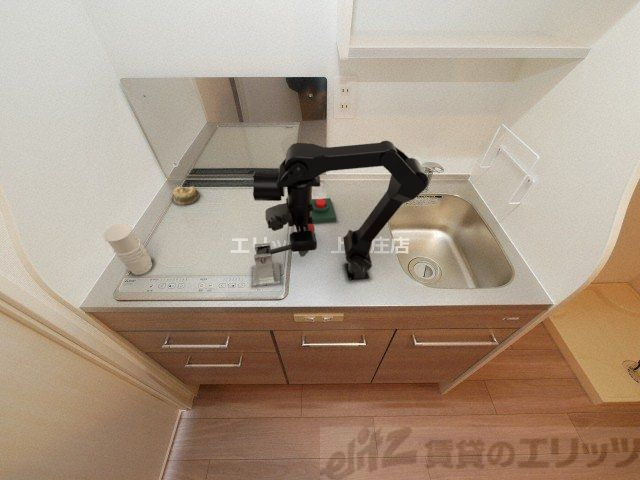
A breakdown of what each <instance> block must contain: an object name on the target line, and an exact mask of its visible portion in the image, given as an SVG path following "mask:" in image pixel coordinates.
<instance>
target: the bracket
mask: <svg viewBox="0 0 640 480" xmlns="http://www.w3.org/2000/svg"><path fill="white" fill-rule="evenodd" d="M271 245H272V243H271V242H265V243H263V242H262V243H255V244H254V251H255V254H254V255H253V259H254V263H255V265H253V266H252V286H253V287H255V286H264V285H274V284H281V270H280V269H281V268H280V263H274V260H273V254H272V255H271V253H269V254H258V255H257V250H259V249H263V248H267V250H271V249H272V246H271Z"/></svg>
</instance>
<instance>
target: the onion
mask: <svg viewBox="0 0 640 480" xmlns="http://www.w3.org/2000/svg"><path fill="white" fill-rule="evenodd" d="M308 228H309V231H313V232H314V233H316V232H315V231H316V228H315V224H314V223H313V224H308ZM304 231H305V229H304Z"/></svg>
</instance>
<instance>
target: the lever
mask: <svg viewBox="0 0 640 480" xmlns="http://www.w3.org/2000/svg"><path fill="white" fill-rule="evenodd" d="M287 251H291V246H290V244H286V245H283V246H279V247H275V248H271V250H267V248H263V249H259V250H257V255H258V254H269V253H271V255H272V256H273V255H276V254H279V253H282V252H287Z"/></svg>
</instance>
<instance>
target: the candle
mask: <svg viewBox="0 0 640 480" xmlns="http://www.w3.org/2000/svg"><path fill="white" fill-rule="evenodd" d="M102 238H103V239H104V241H105V242H107V243H108V244H109V246H110V247H111V248H112V249H113V253H114V254H115V255H116V257H117V258H118V260H119V261H120V262H121V263H122V264H123V265H124V267H125V268H126V269H127V271H128V272H131V274H133V275H137V276H139V275H143V274H146V273H148V272H149V271H150V270H151V269H152V267H153V262H152V258H151V256H150V254H149V253H148V251H147V249H146V248H145V246H144V244H143V243H142V240H140V239H139V238H138V237H137V236H136V234H135V232H134V231H133V227H132V226H131V225H130V224H128V223H119V224H114V225H112V226H110V227H109V228H107V229H106V230H105V231H104V232H103V234H102Z"/></svg>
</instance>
